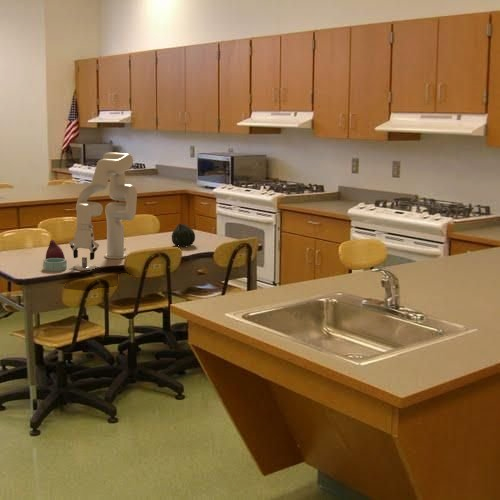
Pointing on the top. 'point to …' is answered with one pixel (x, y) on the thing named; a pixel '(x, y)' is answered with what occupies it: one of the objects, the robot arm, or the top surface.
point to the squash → (183, 235)
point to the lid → (84, 265)
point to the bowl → (54, 264)
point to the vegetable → (54, 251)
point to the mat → (79, 270)
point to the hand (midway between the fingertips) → (83, 258)
